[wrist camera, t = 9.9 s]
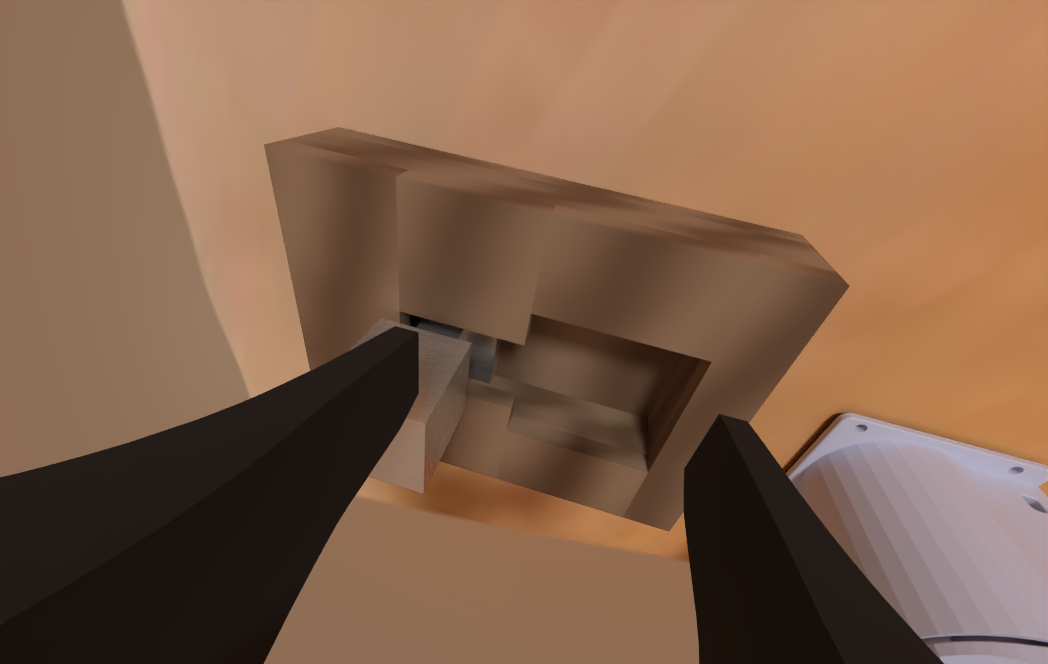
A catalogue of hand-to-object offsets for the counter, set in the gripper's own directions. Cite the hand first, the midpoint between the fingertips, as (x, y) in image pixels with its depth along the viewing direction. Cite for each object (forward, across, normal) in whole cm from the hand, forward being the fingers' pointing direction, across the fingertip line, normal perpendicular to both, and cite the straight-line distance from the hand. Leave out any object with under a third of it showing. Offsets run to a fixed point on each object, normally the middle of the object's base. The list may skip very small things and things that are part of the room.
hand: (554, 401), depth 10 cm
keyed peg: (+9, +6, +5) cm, 12 cm away
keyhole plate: (+10, +2, +5) cm, 12 cm away
